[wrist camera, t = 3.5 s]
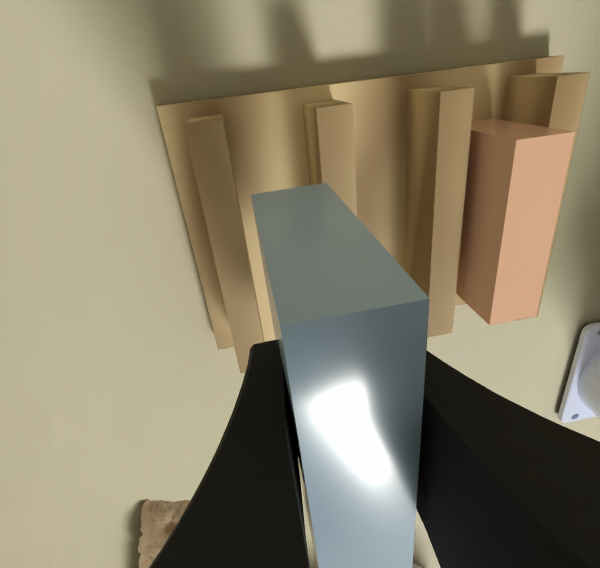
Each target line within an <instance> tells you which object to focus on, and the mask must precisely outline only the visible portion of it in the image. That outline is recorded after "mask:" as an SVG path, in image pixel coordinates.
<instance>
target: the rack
mask: <svg viewBox="0 0 600 568" xmlns="http://www.w3.org/2000/svg"><path fill="white" fill-rule="evenodd" d="M563 58H564V56H549V57H541V58H533V59H525V60H517V61H509V62H501V63H493V64H485V65H477V66H469V67H461V68H453V69H445V70H437V71H429V72H421V73H413V74H405V75H397V76H389V77H381V78H373V79H365V80H357V81H349V82H341V83H333V84H325V85H317V86H309V87H301V88H293V89H285V90H277V91H269V92H261V93H253V94H245V95H237V96H229V97H221V98H214V99H206V100H198V101H190V102H182V103H174V104H166V105H159V106H157V111H158V115H159V119H160V123H161V127H162V131H163V135H164V138H165V142H166V146H167V150H168V154H169V158H170V162H171V166H172V170H173V174H174V178H175V182H176V186H177V190H178V194H179V197H180V201H181V205H182V209H183V213H184V217H185V221H186V225H187V229H188V233H189V237H190V241H191V245H192V249H193V252H194V256H195V260H196V264H197V268H198V272H199V276H200V280H201V284H202V288H203V292H204V296H205V300H206V304H207V308H208V311H209V315H210V319H211V323H212V327H213V331H214V335H215V339H216V343H217V347H218V350H219V349H224V348H230V347H235V351H236V356H237V360H238V364H239V369H240V373H245V372H246V368H247V364H248V359H249V352H250V348H251V347H252V346H253V344H257V343H263V342H264V341H267V340H273V339H275V334H274V328H273V322H272V316H271V310H270V304H269V298H268V293H267V287H266V281H265V275H264V269H263V263H262V258H261V252H260V246H259V240H258V234H257V228H256V222H255V217H254V211H253V205H252V199H251V194H257V193H264V192H270V191H277V190H283V189H290V188H296V187H303V186H309V185H316V184H322V183H327V184H328V185H329V186H330V187H331V188H332V189H333V191H334V192H335V193H336V194H337V195H338V196H339V197H340V198H341V200H342V201H343V202H344V203H345V204H346V205H347V206H348V207H349V209H350V210H351V211H352V212H353V213H354V214H355V215H356V216H357V218H358V219H359V220H360V221H361V222H362V223H363V224H364V225H365V226H366V228H367V229H368V230H369V231H370V232H371V233H372V234H373V235H374V237H375V238H376V239H377V240H378V241H379V242H380V243H381V244H382V246H383V247H384V248H385V249H386V250H387V251H388V252H389V253H390V254H391V256H392V257H393V258H394V259H395V260H396V261H397V262H398V263H399V265H400V266H401V267H402V268H403V269H404V270H405V271H406V272H407V274H408V275H409V276H410V277H411V278H412V279H413V280H414V281H415V282H416V284H417V285H418V286H419V287H420V288H421V289H422V290H423V291H424V293H425V294H426V295H427V296H428V297H429V298H430V303H429V318H428V333H427V337H432V336H437V335H443V334H448V333H452V328H453V317H454V307H455V306H456V305H461V304H467V303H466V302H465V301H463V300H462V299H461V298H460V297H459V296H458V295H457V294H456V285H457V274H458V264H459V253H460V242H461V231H462V221H463V210H464V199H465V188H466V178H467V167H468V156H469V145H470V135H471V124H472V121H477V120H484V119H491V118H493V119H499V120H505V121H512V122H518V123H524V124H530V125H537V126H543V127H549V128H555V129H562V130H568V131H574V132H575V135H574V139H573V144H572V149H571V154H570V158H569V163H568V168H567V172H566V177H565V182H564V187H563V191H562V196H561V201H560V206H559V210H558V215H557V220H556V225H555V229H554V234H553V239H552V244H551V248H550V253H549V258H548V263H547V267H546V272H545V277H544V282H543V286H542V291H541V296H540V301H539V305H538V310H537V315H536V316H538V314H539V309H540V304H541V300H542V295H543V290H544V286H545V281H546V276H547V271H548V267H549V262H550V257H551V253H552V248H553V243H554V239H555V234H556V229H557V225H558V220H559V215H560V211H561V206H562V201H563V196H564V192H565V187H566V182H567V178H568V173H569V168H570V164H571V159H572V154H573V150H574V145H575V140H576V136H577V131H578V126H579V121H580V117H581V112H582V107H583V103H584V98H585V93H586V89H587V84H588V79H589V75H590V72H584V73H561V69H562V64H563ZM536 316H534V317H536ZM529 318H531V317H529ZM524 319H526V318H524ZM518 320H521V319H518ZM513 321H515V320H513Z"/></svg>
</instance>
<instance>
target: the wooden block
mask: <svg viewBox="0 0 600 568" xmlns="http://www.w3.org/2000/svg"><path fill="white" fill-rule="evenodd" d="M574 135H575V132H574V131H568V130H562V129H555V128H549V127H543V126H537V125H530V124H524V123H518V122H512V121H505V120H499V119H493V118H491V119H484V120H477V121H472V124H471V135H470V145H469V156H468V167H467V178H466V188H465V199H464V210H463V221H462V231H461V242H460V253H459V264H458V274H457V285H456V294H457V295H458V296H459V297H460V298H461V299H462V300H463V301H465V302H466V303H467V304H468V305H469V306H470V307H471V308H472V309H473V310H474V311H475V312H476V313H477V314H478V315H479V316H480V317H481V318H483V319H484V320H485V321H486V322H487V323H488V324H489V325H492V324H498V323H503V322H508V321H513V320H518V319H524V318H529V317H534V316H536V315H537V310H538V305H539V301H540V296H541V291H542V286H543V282H544V277H545V272H546V267H547V263H548V258H549V253H550V248H551V244H552V239H553V234H554V229H555V225H556V220H557V215H558V210H559V206H560V201H561V196H562V191H563V187H564V182H565V177H566V172H567V168H568V163H569V158H570V154H571V149H572V144H573V139H574Z"/></svg>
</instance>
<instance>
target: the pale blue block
mask: <svg viewBox="0 0 600 568" xmlns="http://www.w3.org/2000/svg"><path fill="white" fill-rule="evenodd" d="M251 199H252V205H253V211H254V217H255V222H256V228H257V234H258V240H259V246H260V252H261V258H262V263H263V269H264V275H265V281H266V287H267V293H268V298H269V304H270V310H271V316H272V322H273V328H274V334H275V339H276V340H277V341H278V345H279V350H280V354H281V359H282V364H283V369H284V375H285V381H286V387H287V393H288V399H289V405H290V411H291V417H292V423H293V429H294V435H295V441H296V447H297V453H298V462H299V472H300V478H301V484H302V489H303V494H304V499H305V505H306V510H307V515H308V520H309V526H310V531H311V536H312V541H313V547H314V552H315V557H316V562H317V567H318V568H412V565H413V550H414V534H415V519H416V503H417V488H418V473H419V457H420V442H421V426H422V411H423V395H424V380H425V364H426V349H427V333H428V318H429V303H430V298H429V297H428V296H427V295H426V294H425V293H424V291H423V290H422V289H421V288H420V287H419V286H418V285H417V284H416V282H415V281H414V280H413V279H412V278H411V277H410V276H409V275H408V274H407V272H406V271H405V270H404V269H403V268H402V267H401V266H400V265H399V263H398V262H397V261H396V260H395V259H394V258H393V257H392V256H391V254H390V253H389V252H388V251H387V250H386V249H385V248H384V247H383V246H382V244H381V243H380V242H379V241H378V240H377V239H376V238H375V237H374V235H373V234H372V233H371V232H370V231H369V230H368V229H367V228H366V226H365V225H364V224H363V223H362V222H361V221H360V220H359V219H358V218H357V216H356V215H355V214H354V213H353V212H352V211H351V210H350V209H349V207H348V206H347V205H346V204H345V203H344V202H343V201H342V200H341V198H340V197H339V196H338V195H337V194H336V193H335V192H334V191H333V189H332V188H331V187H330V186H329V185H328V184H327V183H322V184H316V185H309V186H303V187H296V188H290V189H283V190H277V191H270V192H264V193H257V194H251Z"/></svg>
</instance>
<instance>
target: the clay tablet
mask: <svg viewBox="0 0 600 568" xmlns="http://www.w3.org/2000/svg"><path fill="white" fill-rule="evenodd" d="M189 503H190V501H188V500H183V501H177V502H169V501H162V500H158V501H150V500H148V499H147V500H146V501H145V503H144V504H143V506H142V509H141V510H142V514H141V525H142V526H141V528H140V530H141V532H142V534H143V535H142V536H141V537H140V538H139V546H138V552H139V553H140V554H141V555H140V559H139V568H149V567H150V565H151V564H152V562H153V561H154V559H155V558H156V556H157V555H158V554H159V552H160V551H161V549H162V548H163V546H164V544H165V543H166V541H167V540H168V538H169V536H170V535H171V533H172V532H173V530H174V528H175V527H176V525H177V523H178V522H179V520H180V518H181V516H182V515H183V513H184V511H185V509H186V508H187V506H188V504H189Z"/></svg>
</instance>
